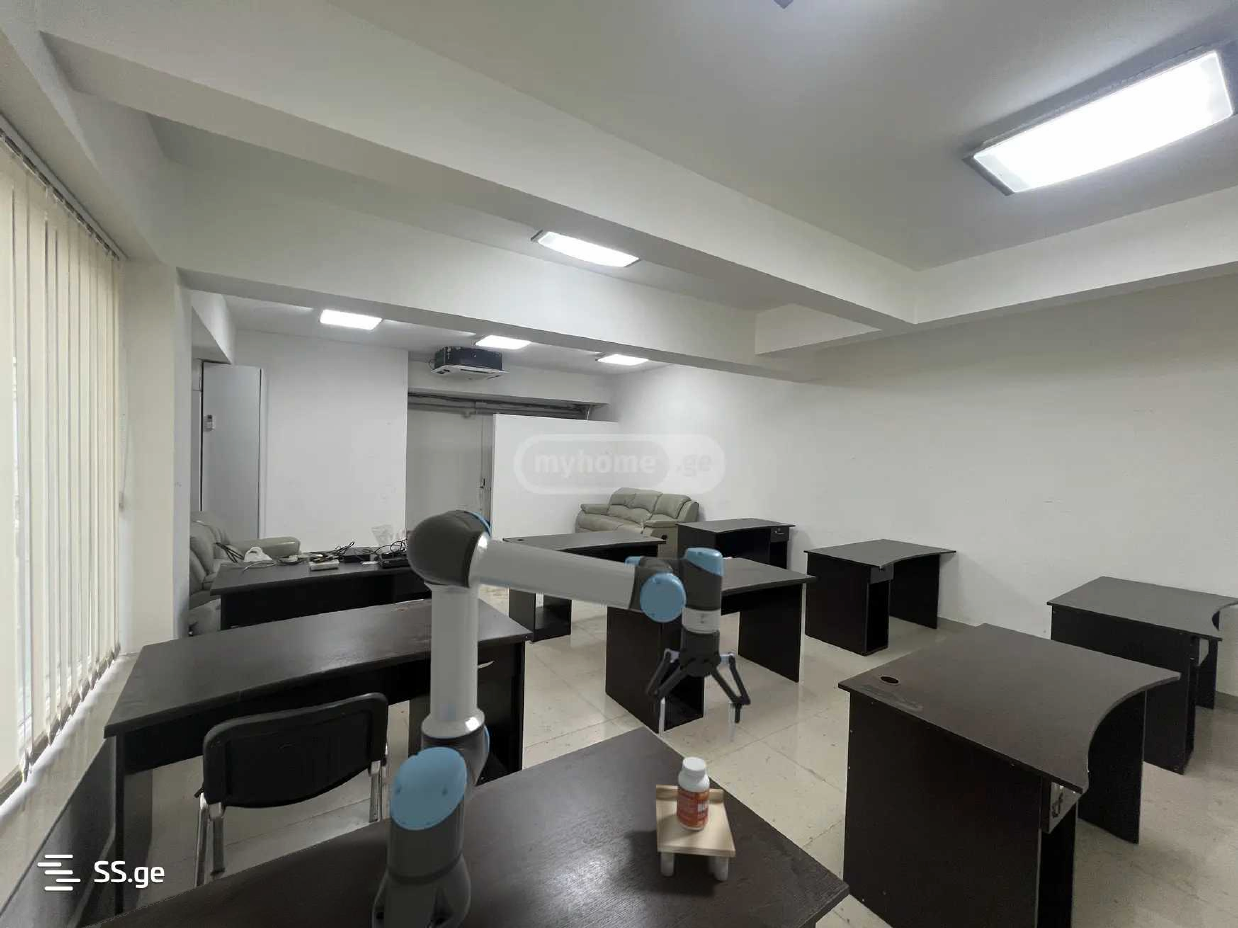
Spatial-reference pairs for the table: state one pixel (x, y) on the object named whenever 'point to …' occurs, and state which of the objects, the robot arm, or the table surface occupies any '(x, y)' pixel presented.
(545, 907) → the table surface
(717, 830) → the beige small table
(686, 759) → the pill bottle
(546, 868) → the table surface
